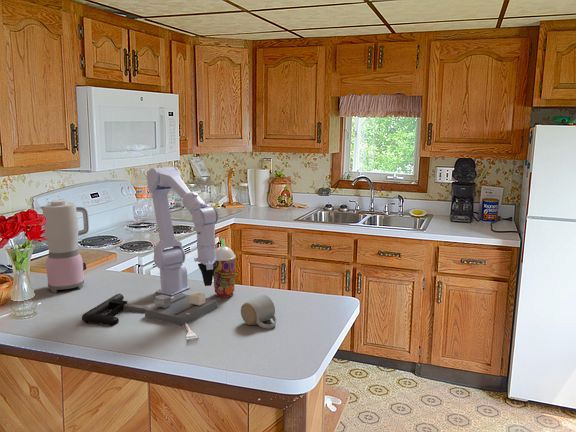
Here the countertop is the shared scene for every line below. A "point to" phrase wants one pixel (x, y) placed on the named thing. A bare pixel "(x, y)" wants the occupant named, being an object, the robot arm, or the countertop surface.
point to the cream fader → (197, 298)
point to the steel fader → (162, 301)
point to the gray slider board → (180, 310)
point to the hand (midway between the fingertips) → (208, 285)
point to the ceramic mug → (259, 311)
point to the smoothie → (224, 271)
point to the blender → (64, 245)
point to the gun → (111, 304)
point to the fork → (189, 332)
